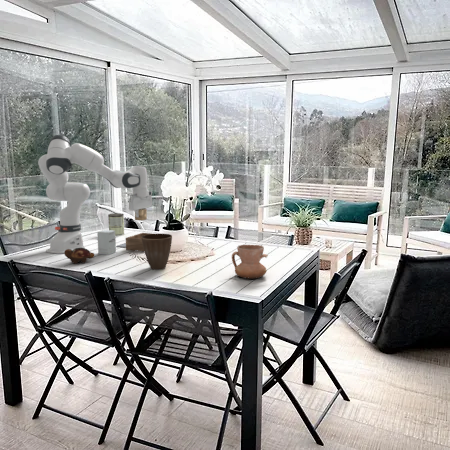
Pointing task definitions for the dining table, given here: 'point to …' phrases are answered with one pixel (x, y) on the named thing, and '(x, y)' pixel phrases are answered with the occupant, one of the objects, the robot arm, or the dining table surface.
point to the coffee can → (116, 223)
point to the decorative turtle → (78, 255)
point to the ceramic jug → (249, 261)
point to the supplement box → (106, 242)
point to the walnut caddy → (135, 242)
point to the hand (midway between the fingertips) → (140, 216)
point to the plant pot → (157, 249)
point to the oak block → (142, 215)
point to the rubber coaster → (122, 245)
